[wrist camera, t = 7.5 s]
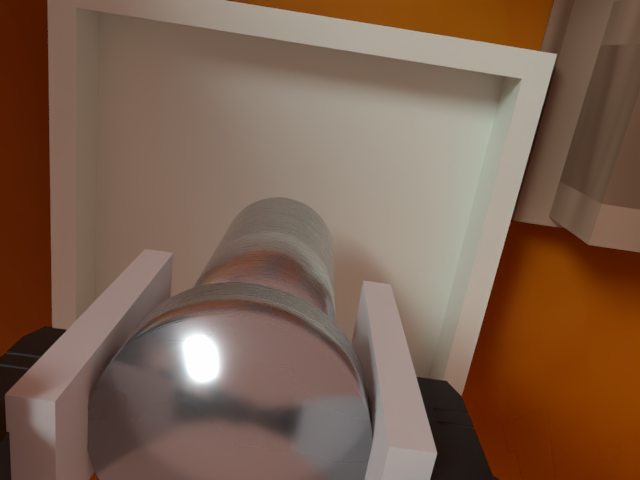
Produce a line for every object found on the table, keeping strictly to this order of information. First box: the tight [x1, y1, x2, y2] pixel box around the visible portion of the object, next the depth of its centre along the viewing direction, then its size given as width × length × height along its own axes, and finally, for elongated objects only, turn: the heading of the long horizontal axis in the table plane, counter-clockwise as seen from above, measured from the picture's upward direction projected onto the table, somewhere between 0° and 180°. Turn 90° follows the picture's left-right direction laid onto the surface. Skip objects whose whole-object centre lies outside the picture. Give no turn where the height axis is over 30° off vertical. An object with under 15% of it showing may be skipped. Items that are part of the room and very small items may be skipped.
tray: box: [47, 0, 557, 396], centre depth 23 cm, size 18×16×3 cm
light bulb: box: [87, 197, 372, 480], centre depth 15 cm, size 5×5×10 cm
